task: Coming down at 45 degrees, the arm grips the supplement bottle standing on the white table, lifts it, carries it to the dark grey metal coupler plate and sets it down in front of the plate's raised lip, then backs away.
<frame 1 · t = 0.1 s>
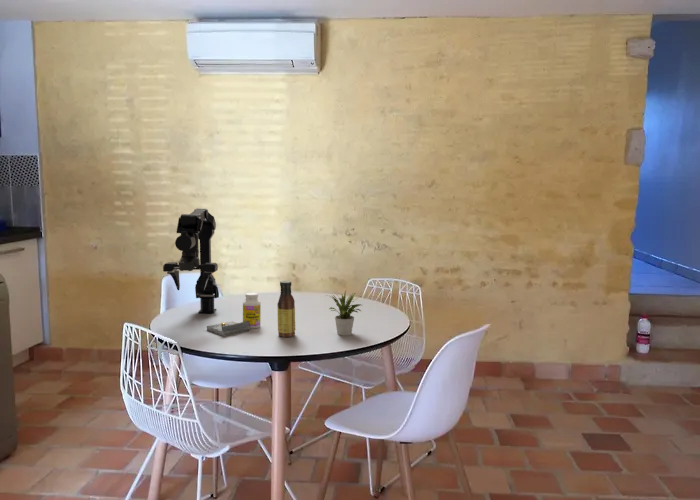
hand: (191, 290, 201), 15 cm above the table, tool pointing down, fingers open, 9 cm apart
coupler plate: (228, 330, 201), on the table
sauce bottle: (286, 336, 195), on the table
house plant: (341, 334, 198), on the table
supplement bottle: (251, 327, 207), on the table
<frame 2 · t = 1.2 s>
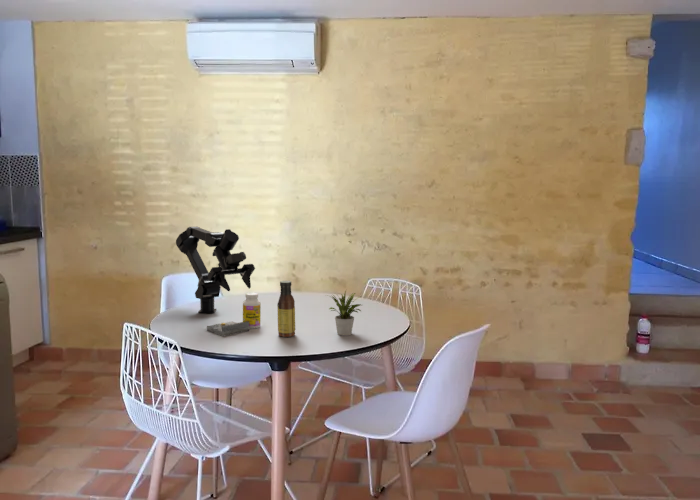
hand: (239, 289, 211), 13 cm above the table, tool tilted 45°, fingers open, 9 cm apart
nothing on the table moved.
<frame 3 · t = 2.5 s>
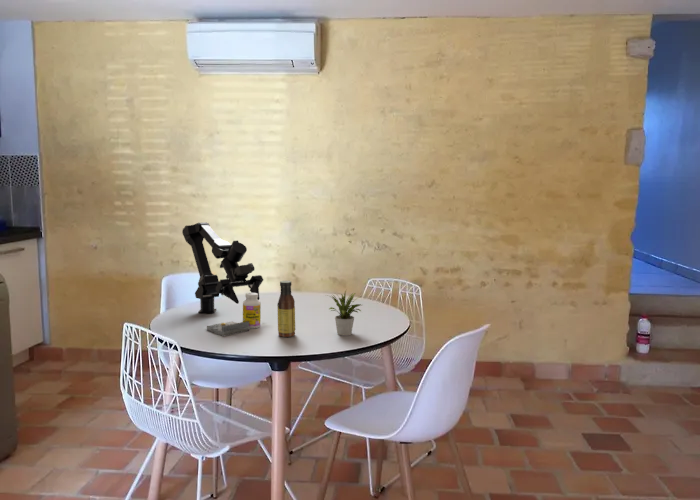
hand: (248, 301, 207), 9 cm above the table, tool tilted 45°, fingers open, 9 cm apart
nothing on the table moved.
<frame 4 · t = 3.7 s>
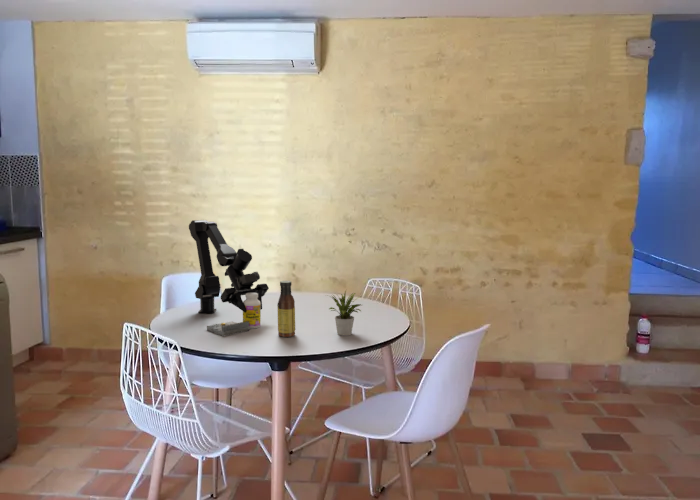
hand: (253, 310, 205), 7 cm above the table, tool tilted 45°, fingers closed on supplement bottle, 7 cm apart
supplement bottle: (251, 327, 207), on the table, touching gripper
everything else where it was.
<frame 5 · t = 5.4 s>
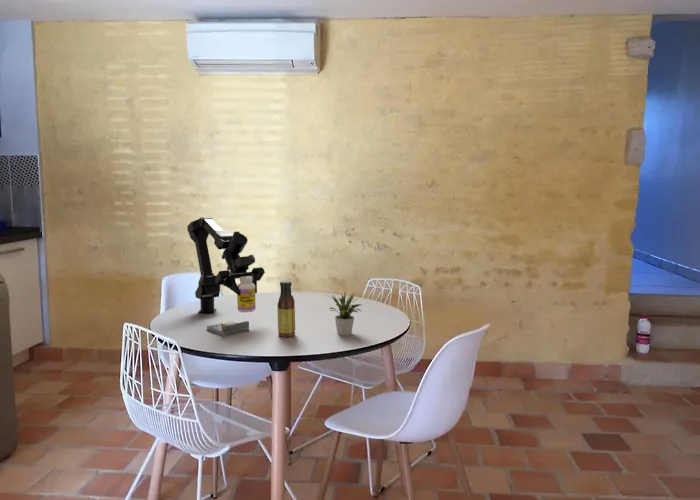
hand: (248, 293, 203), 13 cm above the table, tool tilted 45°, fingers closed on supplement bottle, 7 cm apart
supplement bottle: (246, 311, 205), point 6 cm above the table, touching gripper
everything else where it was.
when the fingers open (9 cm above the table, at t = 7.2 s): supplement bottle stays where it is, resting on coupler plate.
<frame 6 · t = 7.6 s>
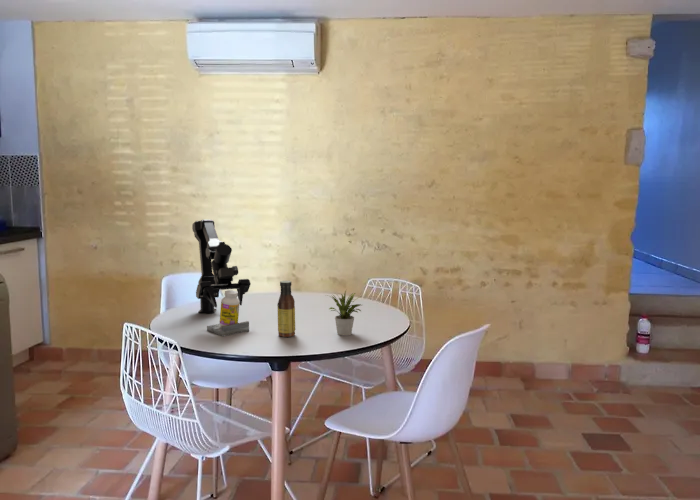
hand: (228, 305, 198), 10 cm above the table, tool tilted 45°, fingers open, 9 cm apart
supplement bottle: (228, 325, 201), point 2 cm above the table, touching coupler plate
everything else where it was.
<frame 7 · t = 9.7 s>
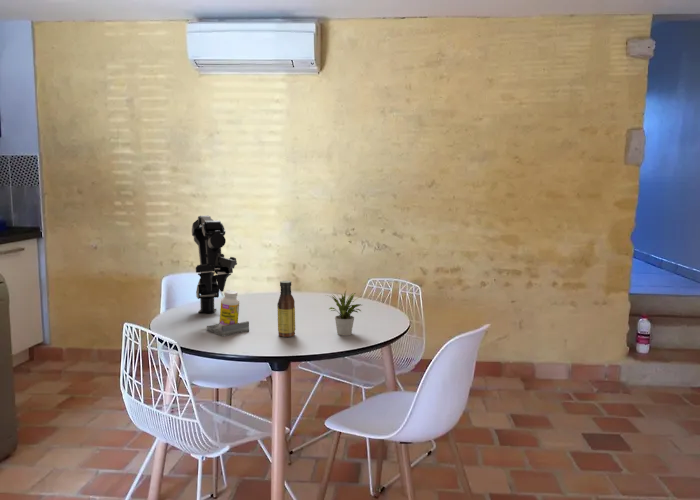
hand: (216, 291, 211), 12 cm above the table, tool pointing down, fingers open, 9 cm apart
nothing on the table moved.
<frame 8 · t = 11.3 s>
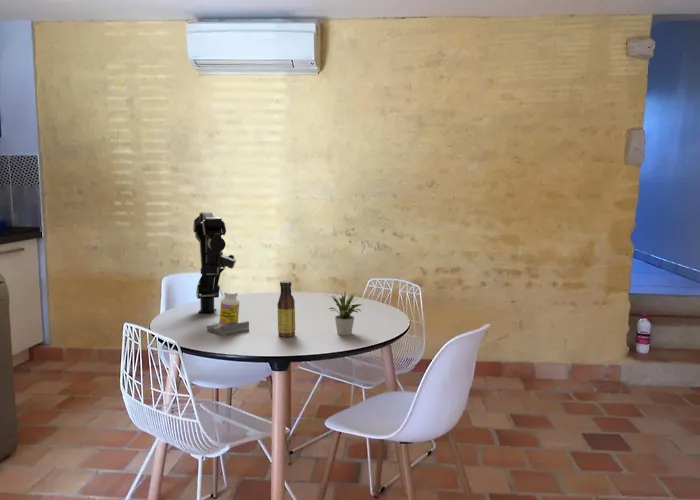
hand: (213, 288, 213), 13 cm above the table, tool pointing down, fingers open, 9 cm apart
nothing on the table moved.
at the end: supplement bottle inside the target area on the coupler plate (0.3 cm from its centre), point 1.7 cm above the coupler plate's base; supplement bottle tilted 6°; the gripper is holding nothing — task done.
